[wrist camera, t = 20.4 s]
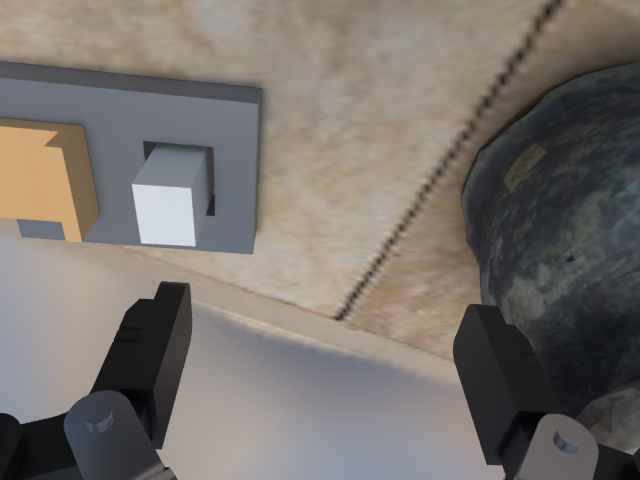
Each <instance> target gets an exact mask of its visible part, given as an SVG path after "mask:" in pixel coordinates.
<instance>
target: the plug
mask: <svg viewBox="0 0 640 480" xmlns="http://www.w3.org/2000/svg"><path fill="white" fill-rule="evenodd" d="M214 188H215V186H214V164H213V147H206V146H195V145H184V144H174V143H163V142H158V143H157V144H156V146H155V147H154V149H153V151H152V152H151V154H150V155H149V157H148V159H147V160H146V162H145V164H144V165H143V167H142V168H141V170H140V172H139V173H138V175H137V177H136V178H135V180H134V181H133V183H132V189H133V195H134V201H135V208H136V214H137V220H138V226H139V233H140V239H141V243H146V244H163V245H181V246H196V243H197V240H198V237H199V234H200V231H201V228H202V225H203V222H204V219H205V216H206V212H207V209H208V206H209V203H210V200H211V197H212V194H213V191H214Z"/></svg>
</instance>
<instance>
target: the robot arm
mask: <svg viewBox="0 0 640 480" xmlns="http://www.w3.org/2000/svg"><path fill="white" fill-rule="evenodd" d="M191 334H192V309H191V293H190V285H189V283H180V282H166V281H162V282H161V283H160V285H159V287H158V290H157V292H156V295H155V298H154V299H139V300H138V301H137V302H136V303H135V304H134V305H132V307H130V308H129V309H128V310H127V311H126V313H125V315H124V317H123V320H122V322H121V324H120V327H119V330H118V331H117V333H116V336H115V338H114V342H113V343H112V345H111V347H110V349H109V352H108V354H107V356H106V359H105V361H104V363H103V365H102V367H101V370H100V372H99V374H98V376H97V379H96V381H95V383H94V386H93V388H92V390H91V391H90V393H89V394H88V395H87V396H85V397H83V398H82V399H80V400H79V401H77V402H76V403H75V404H74V405H73V406H72V407H71V409H70V410H69V411H68V412H66V413H63V414H61V415H58V416H55V417H51V418H47V419H43V420H38V421H33V422H30V423H25V424H20V423H19V421H18V420H17V419H16V418H15V417H13V416H11V415H9V414H5V413H0V480H177V478H176V476H175V475H174V473H173V471H172V470H171V469H170V468H169V467H167V468H166V467H165V466H164V465H163V463H162V461H161V460H160V458H159V456H158V454H157V452H156V450H155V449H162V446H163V443H164V439H165V435H166V432H167V428H168V424H169V420H170V417H171V413H172V409H173V405H174V402H175V398H176V394H177V390H178V386H179V383H180V379H181V375H182V371H183V368H184V364H185V360H186V356H187V353H188V349H189V345H190V341H191ZM453 357H454V362H455V365H456V368H457V371H458V375H459V378H460V381H461V384H462V387H463V390H464V394H465V397H466V400H467V403H468V406H469V409H470V412H471V416H472V419H473V422H474V425H475V428H476V432H477V435H478V438H479V441H480V444H481V448H482V451H483V454H484V457H485V460H486V464H487V465H502V466H503V469H504V472H505V474H506V475H505V476H504V478H503V480H640V448H639V449H638V450H637V451H636V452H635V453H634V454H633V455H631V454H628V453H625V452H623V451H620V450H617V449H614V448H611V447H608V446H605V445H602V444H600V443H597V442H596V441H595V439H594V438H593V436H592V435H591V433H590V432H589V431H588V430H587V429H586V428H585V427H584V426H583V425H581V424H580V423H579V422H577V421H576V420H574V419H572V418H570V417H568V416H566V414H565V413H564V411H563V409H562V407H561V404H560V402H559V400H558V398H557V396H556V394H555V392H554V390H553V388H552V386H551V384H550V382H549V380H548V378H547V376H546V374H545V372H544V370H543V369H541V364H540V362H539V360H538V358H537V357H535V352H534V350H533V348H532V346H531V344H530V342H529V340H528V338H527V337H526V336H525V335H524V334H523V333H522V332H521V331H520V330H519V329H518V328H517V327H516V326H515V325H512V324H506V321H505V319H504V317H503V315H502V313H501V311H500V309H499V308H498V307H497V306H494V305H480V304H470V305H469V306H468V307H467V309H466V312H465V314H464V317H463V319H462V322H461V324H460V327H459V329H458V332H457V334H456V337H455V340H454V344H453Z"/></svg>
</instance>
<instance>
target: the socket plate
mask: <svg viewBox="0 0 640 480" xmlns="http://www.w3.org/2000/svg"><path fill="white" fill-rule="evenodd" d="M261 100H262V88H252V87H242V86H233V85H223V84H213V83H204V82H194V81H184V80H175V79H165V78H155V77H146V76H136V75H127V74H117V73H107V72H98V71H88V70H78V69H69V68H59V67H49V66H40V65H30V64H20V63H11V62H1V61H0V118H5V119H16V120H27V121H37V122H48V123H58V124H69V125H79V126H83V127H84V132H85V138H86V143H87V149H88V154H89V159H90V165H91V170H92V176H93V181H94V187H95V192H96V197H97V203H98V208H99V214H100V216H99V217H98V219H97V220H96V222H95V224H94V225H93V227H92V228H91V230H90V231H89V233H88V234H87V236H86V237H85V239H84V240H83V242H94V243H108V244H121V245H134V246H147V247H160V248H174V249H187V250H200V251H213V252H226V253H240V254H253V249H254V243H255V236H256V222H257V198H258V173H259V149H260V124H261ZM156 142H163V143H174V144H184V145H195V146H206V147H214V184H215V195H212V197H211V200H210V203H209V206H208V209H207V212H206V216H205V219H204V222H203V225H202V228H201V231H200V234H199V237H198V240H197V243H196V246H181V245H163V244H146V243H141V239H140V233H139V226H138V220H137V214H136V208H135V201H134V195H133V189H132V183H133V181H134V180H135V178H136V177H137V175H138V173H139V172H140V170H141V168H142V167H143V165H144V164H145V162H146V160H147V159H148V157H149V155H150V154H151V152H152V151H153V149H154V147H155V146H156ZM17 222H18V225H19V229H20V232H21V235H22V237H29V238H42V239H55V240H66V239H65V235H64V230H63V226H62V222H54V221H41V220H28V219H17Z"/></svg>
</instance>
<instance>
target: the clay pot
mask: <svg viewBox="0 0 640 480" xmlns="http://www.w3.org/2000/svg"><path fill="white" fill-rule="evenodd" d="M462 208H463V212H464V216H465V219H466V223H467V236H466V240H467V242H468V244H469V246H470V248H471V250H472V252H473V254H474V256H475V258H476V260H477V262H478V264H479V265H480V287H481V301H482V305H494V306H497V307H498V308H499V309H500V311H501V313H502V315H503V317H504V319H505V321H506V324H512V325H515V326H516V327H517V328H518V329H519V330H520V331H521V332H522V333H523V334H524V335H525V336H526V337H527V338H528V340H529V342H530V344H531V346H532V348H533V350H534V352H535V357H537V358H538V360H539V362H540V364H541V369H543V370H544V372H545V374H546V376H547V378H548V380H549V382H550V384H551V386H552V388H553V390H554V392H555V394H556V396H557V398H558V400H559V402H560V404H561V407H562V409H563V411H564V413H565V414H566V416H568V417H570V418H572V419H574V420H576V421H577V422H579V423H580V424H581V425H583V426H584V427H585V428H586V429H587V430H588V431H589V432H590V433H591V435H592V436H593V438H594V439H595V441H596V442H597V443H600V444H602V445H605V446H608V447H611V448H614V449H617V450H620V451H623V452H625V453H628V454H631V455H633V454H634V453H635V452H636V451H637V450H638V449H639V448H640V62H635V63H631V64H626V65H622V66H618V67H614V68H609V69H605V70H600V71H595V72H592V73H589V74H586V75H583V76H580V77H577V78H574V79H572V80H570V81H569V82H567V83H565V84H563V85H561V86H559V87H557V88H555V89H554V90H552V91H550V92H549V93H547V94H546V95H545V96H544V97H543V99H542V100H541V101H540V103H539V104H538V105H537V106H536V107H535V108H533V109H532V110H531V111H530V112H529V113H528V114H527V115H526V116H524V117H523V118H521V119H520V120H519V121H517V122H516V123H514V124H513V125H512V126H511V127H509V128H508V129H507V130H506V131H505V132H503V133H502V134H501V135H500V136H499V137H498V138H496V139H495V140H494V141H493V142H492V143H491V144H490V145H489V146H488V147H486V148H484V149H483V150H481V151H480V152H479V155H478V158H477V160H476V162H475V165H474V167H473V169H472V171H471V173H470V176H469V178H468V181H467V184H466V187H465V189H464V192H463V195H462Z"/></svg>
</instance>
